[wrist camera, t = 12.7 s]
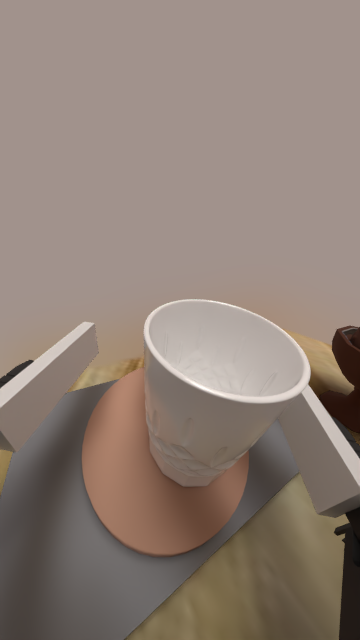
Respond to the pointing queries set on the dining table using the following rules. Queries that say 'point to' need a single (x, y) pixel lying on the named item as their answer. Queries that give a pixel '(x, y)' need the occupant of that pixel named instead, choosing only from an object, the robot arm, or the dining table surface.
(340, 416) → the ice cream bowl
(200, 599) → the dining table surface
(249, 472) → the serving stand
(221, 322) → the white cup
